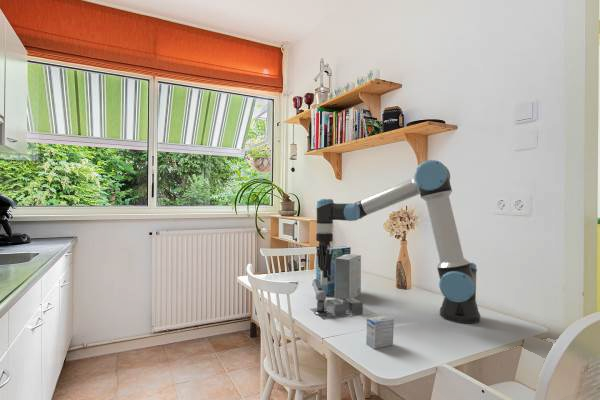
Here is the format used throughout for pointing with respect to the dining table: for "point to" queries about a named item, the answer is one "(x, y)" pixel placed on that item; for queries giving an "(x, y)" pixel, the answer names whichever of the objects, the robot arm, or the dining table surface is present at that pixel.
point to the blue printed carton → (331, 269)
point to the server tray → (326, 314)
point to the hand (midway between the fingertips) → (323, 284)
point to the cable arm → (319, 290)
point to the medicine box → (379, 332)
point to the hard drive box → (347, 276)
